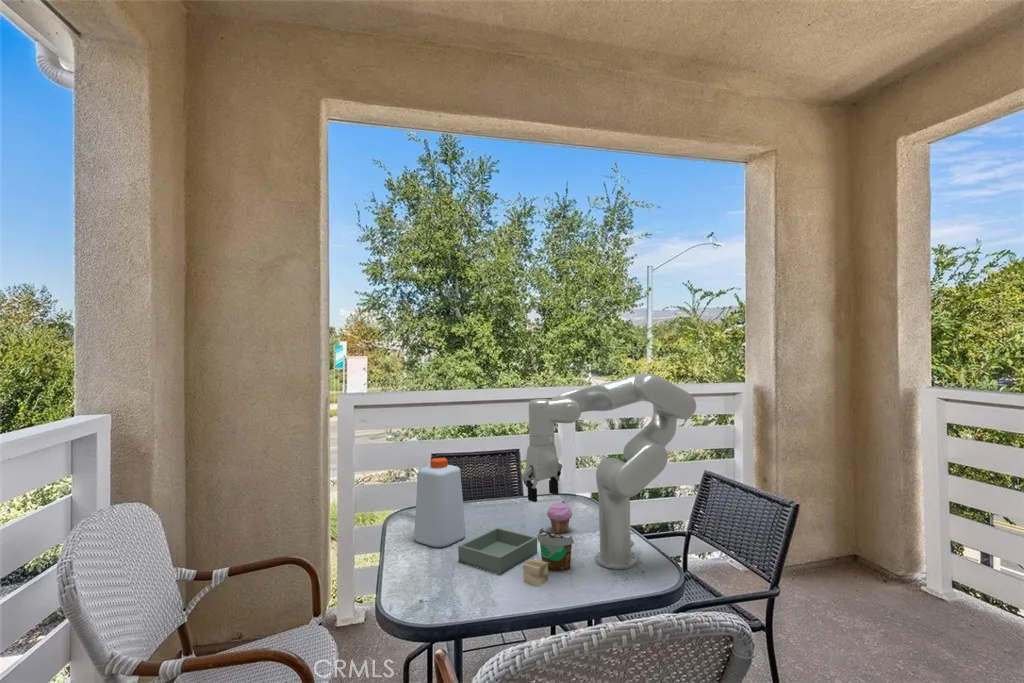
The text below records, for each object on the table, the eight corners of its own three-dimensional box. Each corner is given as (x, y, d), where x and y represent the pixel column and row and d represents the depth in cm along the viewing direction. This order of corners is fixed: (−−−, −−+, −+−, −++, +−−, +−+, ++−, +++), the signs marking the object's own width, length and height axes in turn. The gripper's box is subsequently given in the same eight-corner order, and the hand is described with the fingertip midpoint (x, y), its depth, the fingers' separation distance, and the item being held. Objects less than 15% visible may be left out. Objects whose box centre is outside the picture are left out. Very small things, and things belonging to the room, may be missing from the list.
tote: (497, 542, 174) (497, 527, 175) (537, 553, 165) (537, 537, 165) (458, 561, 159) (458, 545, 159) (500, 575, 149) (500, 557, 149)
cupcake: (554, 537, 178) (554, 508, 179) (543, 529, 186) (542, 502, 186) (576, 533, 182) (576, 505, 182) (564, 525, 190) (563, 498, 190)
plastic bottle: (470, 536, 180) (469, 457, 181) (440, 550, 168) (439, 466, 168) (439, 528, 189) (438, 453, 190) (409, 541, 177) (408, 461, 177)
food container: (529, 565, 155) (528, 532, 155) (542, 559, 160) (541, 527, 160) (561, 577, 147) (560, 542, 147) (574, 570, 151) (573, 536, 152)
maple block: (533, 575, 148) (533, 558, 148) (548, 580, 145) (547, 562, 145) (523, 582, 144) (523, 564, 144) (538, 586, 141) (538, 568, 141)
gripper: (550, 435, 161) (552, 489, 161) (513, 443, 149) (514, 501, 149) (569, 437, 156) (571, 493, 156) (531, 446, 144) (533, 506, 144)
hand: (543, 497), depth 152 cm, fingers open, 9 cm apart
